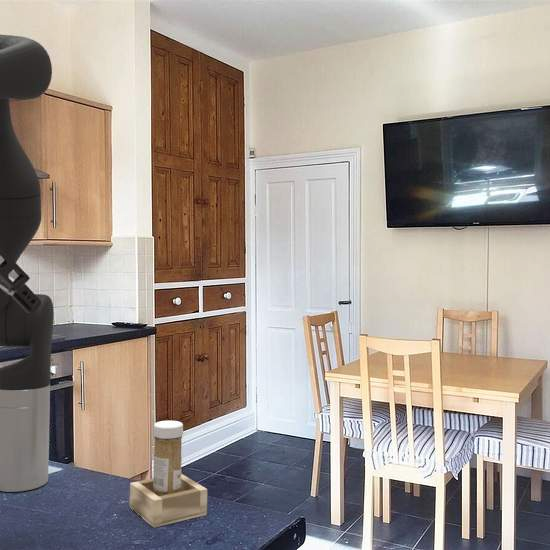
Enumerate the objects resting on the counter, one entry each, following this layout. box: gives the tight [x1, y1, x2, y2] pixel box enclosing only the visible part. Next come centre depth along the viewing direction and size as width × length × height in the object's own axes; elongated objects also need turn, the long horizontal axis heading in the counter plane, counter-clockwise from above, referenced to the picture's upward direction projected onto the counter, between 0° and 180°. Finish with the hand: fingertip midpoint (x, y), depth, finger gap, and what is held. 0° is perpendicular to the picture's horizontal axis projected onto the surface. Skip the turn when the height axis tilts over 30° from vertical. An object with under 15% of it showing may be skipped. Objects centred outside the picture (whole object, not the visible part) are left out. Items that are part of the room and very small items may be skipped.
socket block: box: [129, 473, 208, 529], centre depth 98 cm, size 9×9×4 cm
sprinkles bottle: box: [152, 420, 184, 496], centre depth 98 cm, size 5×5×14 cm
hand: (19, 306), depth 85 cm, fingers open, 8 cm apart
